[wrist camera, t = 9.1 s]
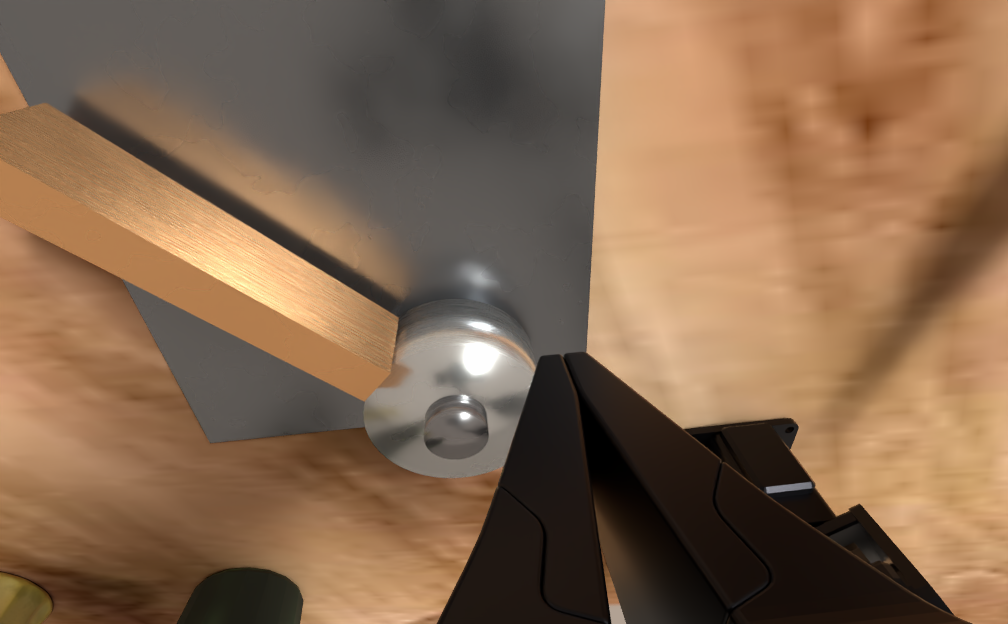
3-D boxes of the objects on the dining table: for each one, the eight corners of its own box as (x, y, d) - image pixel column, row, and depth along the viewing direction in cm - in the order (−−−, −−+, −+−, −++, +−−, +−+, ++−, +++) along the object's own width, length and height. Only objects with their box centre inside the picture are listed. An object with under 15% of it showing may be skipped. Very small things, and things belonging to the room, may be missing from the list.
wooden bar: (565, 353, 22) (587, 421, 18) (467, 443, 24) (470, 518, 21) (84, 22, 14) (-39, 31, 10) (10, 206, 16) (-110, 264, 13)
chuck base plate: (579, 393, 25) (583, 405, 24) (216, 430, 24) (209, 444, 23) (606, -175, 14) (616, -185, 13) (-83, -148, 13) (-116, -156, 12)
